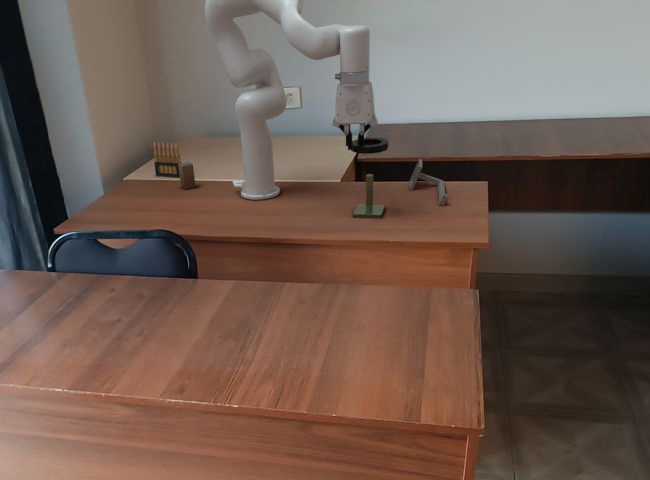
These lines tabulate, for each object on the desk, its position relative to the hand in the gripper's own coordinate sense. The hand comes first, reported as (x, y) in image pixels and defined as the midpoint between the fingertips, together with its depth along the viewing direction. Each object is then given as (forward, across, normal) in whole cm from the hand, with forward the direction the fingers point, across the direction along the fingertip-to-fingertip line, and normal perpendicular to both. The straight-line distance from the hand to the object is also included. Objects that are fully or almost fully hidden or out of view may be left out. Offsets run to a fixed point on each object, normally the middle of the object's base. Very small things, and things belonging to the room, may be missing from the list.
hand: (355, 148), depth 184 cm
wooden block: (+18, -60, +19) cm, 65 cm away
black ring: (0, +4, 0) cm, 4 cm away
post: (+18, +4, 0) cm, 19 cm away
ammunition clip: (+18, -72, +31) cm, 80 cm away
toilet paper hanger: (+19, +19, +19) cm, 33 cm away
